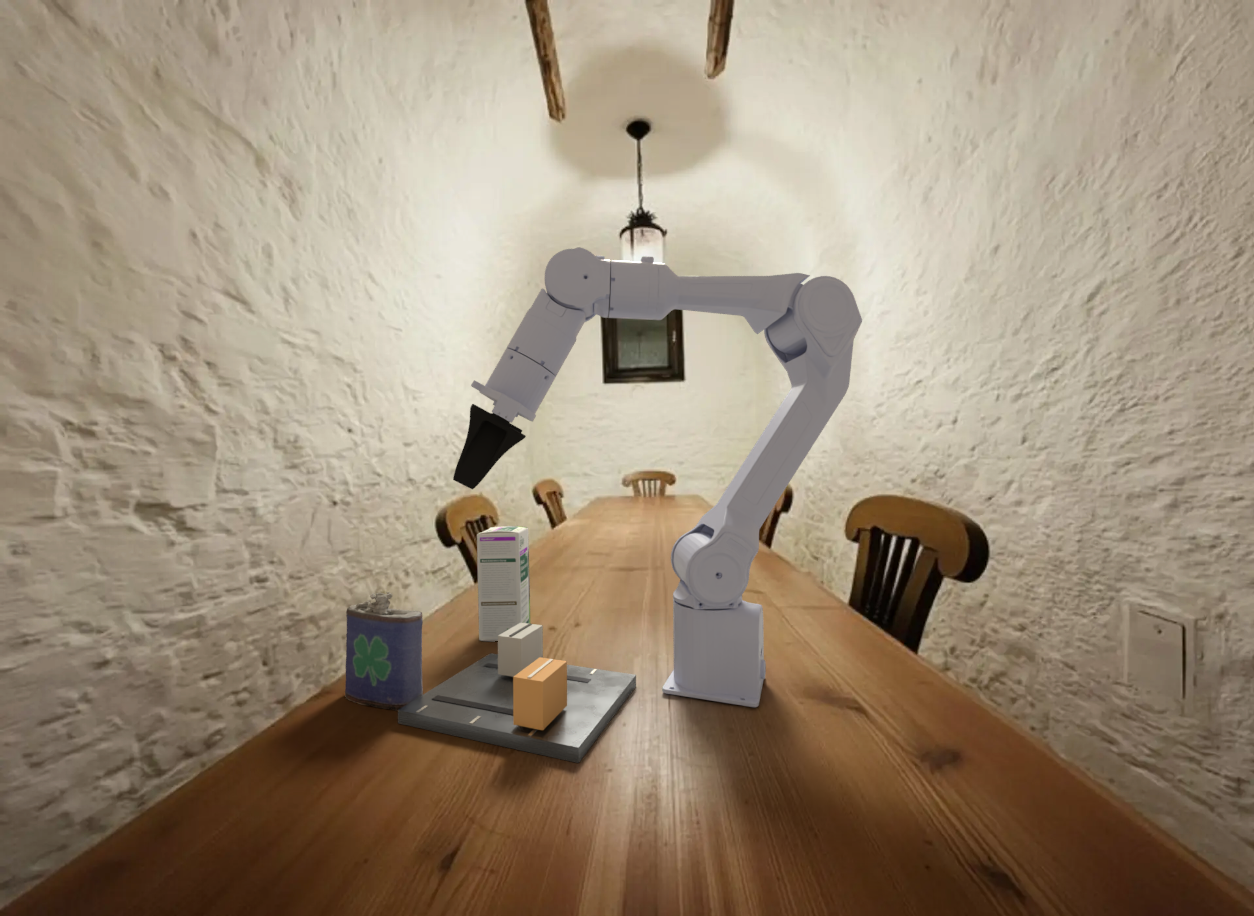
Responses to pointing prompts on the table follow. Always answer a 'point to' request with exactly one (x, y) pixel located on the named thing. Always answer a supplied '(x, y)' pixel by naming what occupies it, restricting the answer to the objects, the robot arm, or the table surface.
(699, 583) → the robot arm
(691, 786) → the table surface
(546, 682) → the orange fader
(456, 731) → the grey slotted tray
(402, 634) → the flask
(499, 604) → the syrup box
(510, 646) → the white fader knob
